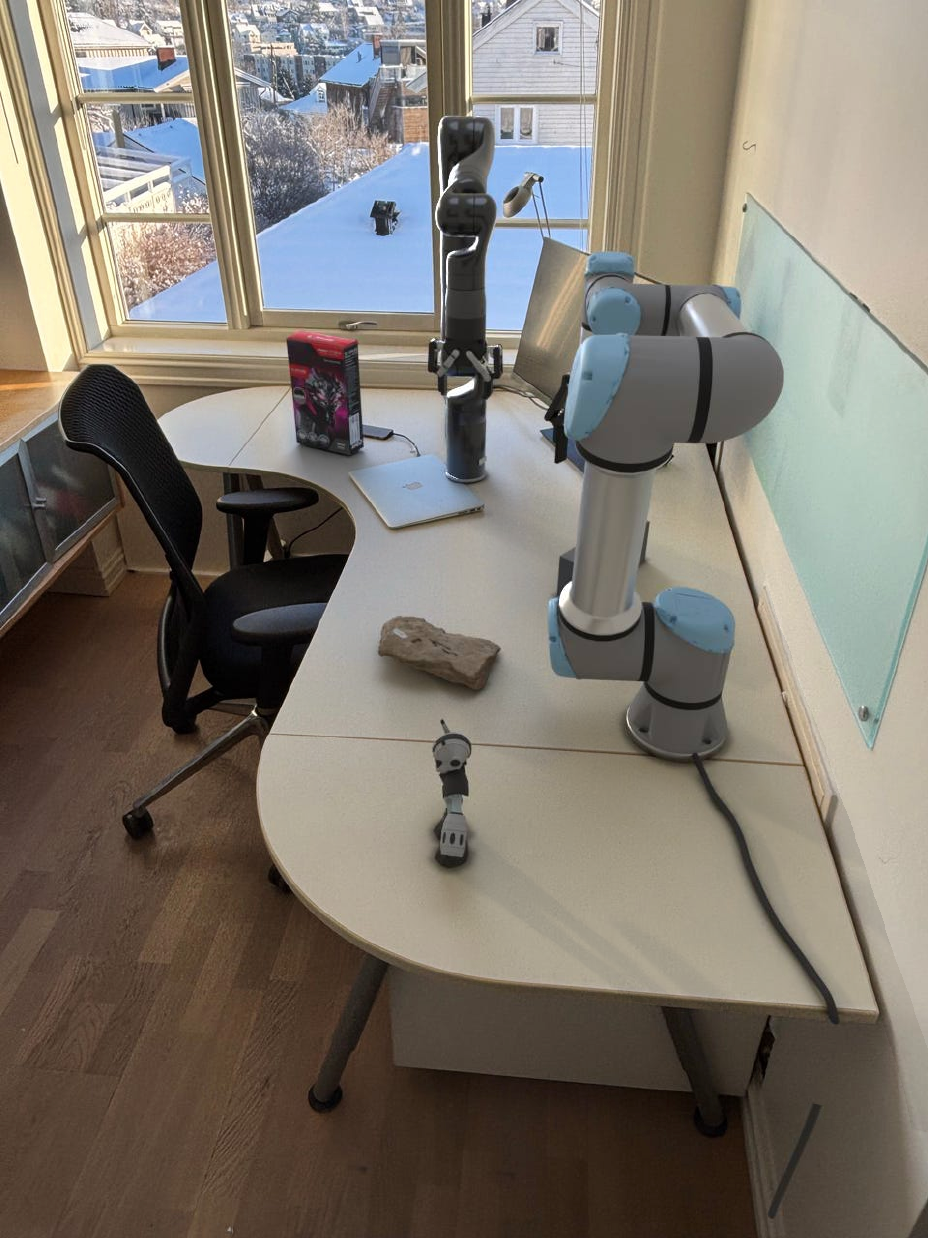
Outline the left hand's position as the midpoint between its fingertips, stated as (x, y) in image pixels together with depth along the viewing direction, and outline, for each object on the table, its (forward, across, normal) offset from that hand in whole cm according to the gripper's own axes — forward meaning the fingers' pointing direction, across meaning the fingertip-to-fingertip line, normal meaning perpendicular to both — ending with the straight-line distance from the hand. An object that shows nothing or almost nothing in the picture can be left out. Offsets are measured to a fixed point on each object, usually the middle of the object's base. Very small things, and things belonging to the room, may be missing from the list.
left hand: (465, 396), depth 178 cm
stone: (+30, -7, +46) cm, 55 cm away
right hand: (+5, -28, +16) cm, 32 cm away
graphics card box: (+30, +45, -35) cm, 64 cm away
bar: (+30, -31, +10) cm, 44 cm away
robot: (+30, -21, +84) cm, 92 cm away
